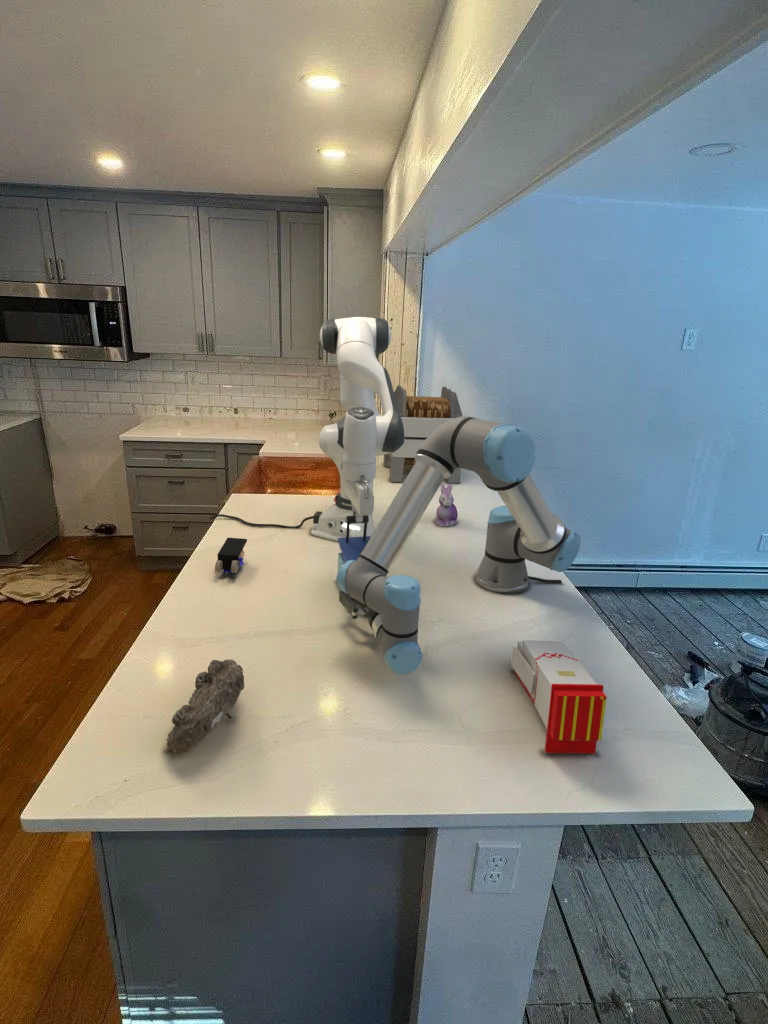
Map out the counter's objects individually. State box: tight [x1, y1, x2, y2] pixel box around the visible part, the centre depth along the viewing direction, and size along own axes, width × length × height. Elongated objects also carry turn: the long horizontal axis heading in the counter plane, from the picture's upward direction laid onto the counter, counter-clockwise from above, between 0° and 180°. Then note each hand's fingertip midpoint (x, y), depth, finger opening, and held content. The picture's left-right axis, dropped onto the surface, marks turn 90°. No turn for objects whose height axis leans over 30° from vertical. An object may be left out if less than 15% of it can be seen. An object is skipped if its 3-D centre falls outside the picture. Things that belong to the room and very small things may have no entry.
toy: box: [510, 639, 607, 754], centre depth 114 cm, size 12×13×30 cm
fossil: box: [166, 658, 245, 754], centre depth 106 cm, size 22×10×15 cm
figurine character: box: [214, 537, 248, 578], centre depth 166 cm, size 7×8×15 cm
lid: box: [337, 515, 371, 563], centre depth 151 cm, size 18×9×9 cm, turn 15°
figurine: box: [434, 483, 459, 527], centre depth 210 cm, size 9×10×15 cm
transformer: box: [383, 384, 463, 484], centre depth 268 cm, size 34×33×41 cm
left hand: (357, 519), depth 155 cm, fingers closed on lid, 2 cm apart
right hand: (364, 579), depth 150 cm, fingers closed on chest, 9 cm apart
